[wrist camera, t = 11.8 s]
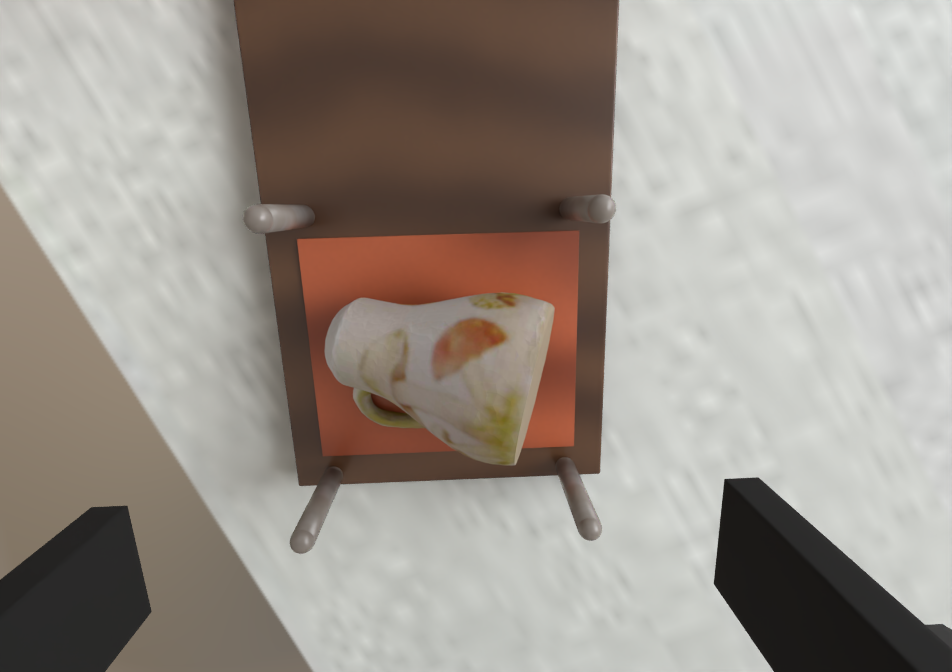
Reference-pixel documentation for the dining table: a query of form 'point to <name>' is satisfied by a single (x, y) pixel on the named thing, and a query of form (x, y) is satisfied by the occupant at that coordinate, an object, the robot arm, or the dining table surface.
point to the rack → (434, 208)
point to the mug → (447, 366)
